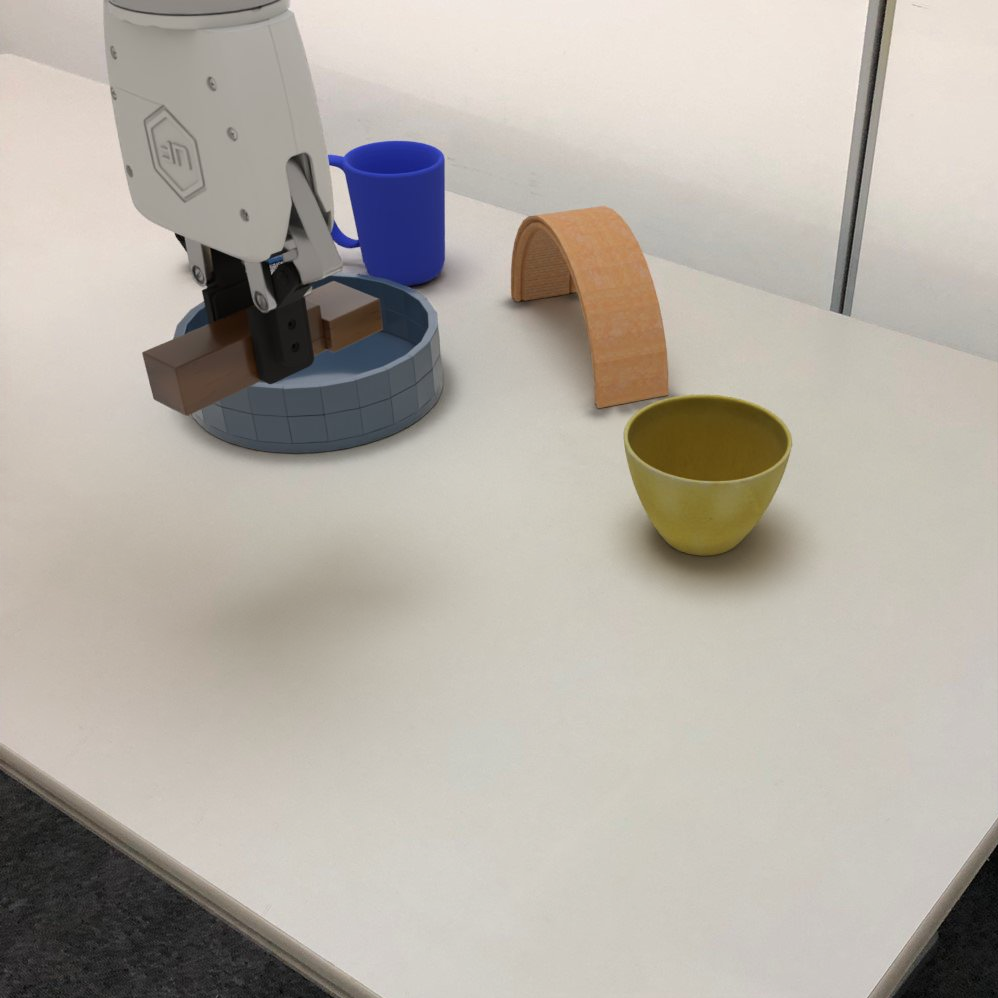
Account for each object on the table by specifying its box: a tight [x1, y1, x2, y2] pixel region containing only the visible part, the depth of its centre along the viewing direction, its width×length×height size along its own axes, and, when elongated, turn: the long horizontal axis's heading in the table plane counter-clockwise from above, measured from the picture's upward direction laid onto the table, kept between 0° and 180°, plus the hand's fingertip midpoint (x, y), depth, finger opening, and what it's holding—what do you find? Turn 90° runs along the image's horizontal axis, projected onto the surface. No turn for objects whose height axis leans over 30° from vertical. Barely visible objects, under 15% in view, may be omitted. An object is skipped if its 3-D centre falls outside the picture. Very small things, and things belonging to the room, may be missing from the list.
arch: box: [510, 205, 669, 409], centre depth 96 cm, size 6×20×10 cm, turn 22°
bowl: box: [172, 272, 444, 454], centre depth 91 cm, size 18×18×5 cm
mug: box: [328, 140, 446, 287], centre depth 106 cm, size 8×12×10 cm
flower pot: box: [623, 394, 793, 557], centre depth 77 cm, size 10×10×7 cm
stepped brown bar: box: [141, 281, 383, 417], centre depth 64 cm, size 4×13×3 cm, turn 143°
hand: (265, 360), depth 65 cm, fingers closed on stepped brown bar, 2 cm apart
